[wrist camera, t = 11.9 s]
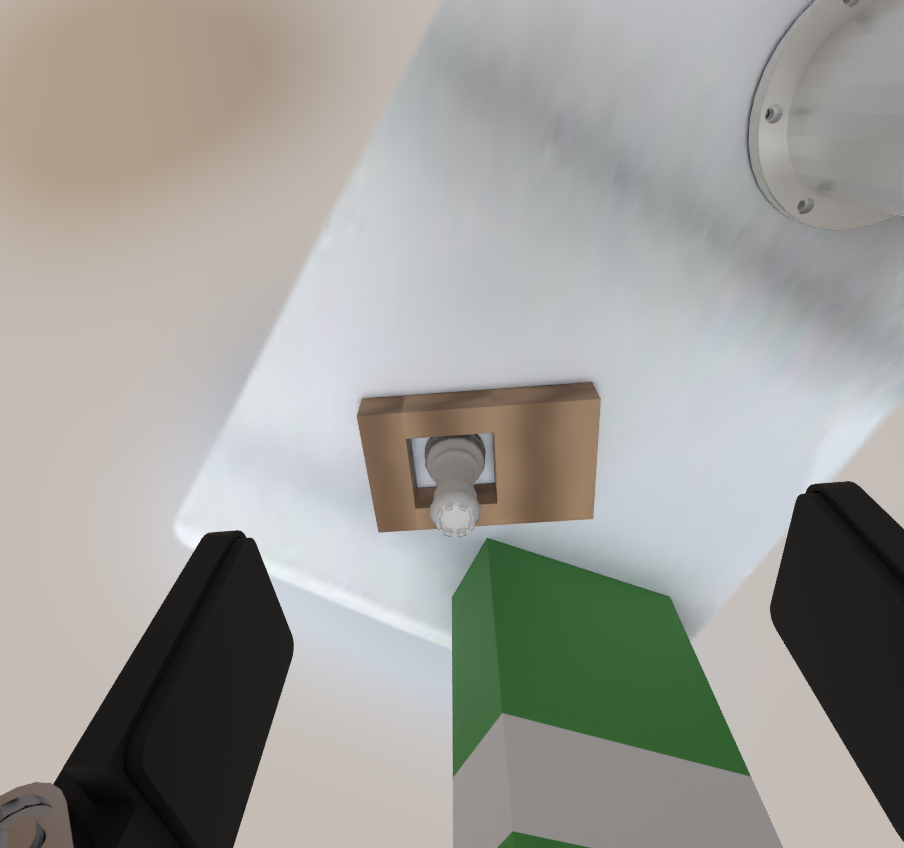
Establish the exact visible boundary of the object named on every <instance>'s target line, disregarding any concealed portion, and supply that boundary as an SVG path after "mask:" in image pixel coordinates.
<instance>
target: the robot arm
mask: <svg viewBox="0 0 904 848" xmlns="http://www.w3.org/2000/svg"><path fill="white" fill-rule="evenodd" d="M768 109H769V111H770V114H769V117H768V118H767V119H766V117H765V115H766V112H767V110H768ZM749 152H750V159H751V165H752V169H753V172H754V175H755V177H756V180H757V183H758V185H759V187H760V189H761V190H762V192H763V193H764V195H765V196H766V198H767V199H768V201H769V202H770V203H771V204H772V205H773V206H774V207H776V208H777V209H778V210H779V211H780V212H781V213H782V214H784V215H786V216H788V217H790V218H792V219H793V220H795V221H797V222H799V223H803V224H806V225H810V226H813V227H816V228H822V229H830V230H845V229H857V228H861V227H865V226H869V225H873V224H877V223H880V222H882V221H885V220H887V219H889V218H891V217H894V216H896V215H899V216H904V0H845V2H844V0H815V1H814V2H813V3H812V4H811V5H810V6H809V7H808V8H807V9H806V10H805V11H804V12H803V13H802V14H801V15H800V16H799V17H798V18H797V20H796V21H795V22H794V24H793V25H792V26H791V28H790V29H789V30H788V32H787V33H786V35H785V36H784V37H783V39H782V40H781V41H780V43H779V44H778V46H777V48H776V50H775V52H774V53H773V55H772V57H771V59H770V61H769V63H768V64H767V66H766V68H765V70H764V73H763V76H762V78H761V81H760V84H759V86H758V89H757V92H756V94H755V98H754V103H753V107H752V112H751V117H750V122H749ZM800 201H801V204H800V206H799V207H798V205H799V202H800ZM770 613H771V618H772V621H773V624H774V626H775V628H776V630H777V632H778V634H779V635H780V637H781V639H782V640H783V641H784V644H785V645H786V647H787V648H788V650H789V652H790V654H791V655H792V657H793V659H794V660H795V662H796V664H797V665H798V667H799V669H800V670H801V672H802V674H803V676H804V677H805V679H806V681H807V682H808V684H809V686H810V687H811V689H812V691H813V692H814V694H815V696H816V697H817V699H818V701H819V702H820V704H821V706H822V707H823V709H824V711H825V712H826V714H827V716H828V718H829V719H830V721H831V723H832V724H833V726H834V728H835V729H836V731H837V733H838V734H839V736H840V738H841V739H842V741H843V743H844V744H845V746H846V748H847V749H848V751H849V753H850V754H851V756H852V758H853V760H854V761H855V763H856V765H857V766H858V768H859V770H860V771H861V773H862V775H863V776H864V778H865V780H866V781H867V783H868V785H869V786H870V788H871V790H872V792H873V793H874V795H875V796H876V798H877V799H878V802H879V803H880V805H881V807H882V808H883V810H884V812H885V813H886V815H887V817H888V818H889V820H890V822H891V823H892V825H893V827H894V828H895V830H896V832H897V833H898V835H899V836H900V838H901V839H902V840H903V841H904V529H903V528H902V527H901V526H900V525H899V524H898V523H897V522H896V521H895V520H894V519H893V518H892V517H891V516H890V515H889V514H887V512H885V511H884V510H883V509H882V508H881V507H880V506H879V505H878V504H877V503H876V502H875V501H874V500H873V499H872V498H871V497H870V496H869V495H868V494H867V493H865V491H864V490H863V489H862V488H861V487H860V486H858V485H857V484H855V483H854V482H850V481H847V482H833V483H821V484H813V485H810V486H809V487H808V488H807V491H806V493H805V494H800V495H799V496H798V497H797V500H796V503H795V507H794V511H793V515H792V519H791V523H790V527H789V531H788V535H787V539H786V543H785V548H784V551H783V556H782V560H781V564H780V568H779V572H778V577H777V580H776V584H775V588H774V592H773V596H772V600H771V605H770ZM293 647H294V643H293V637H292V634H291V631H290V629H289V626H288V624H287V621H286V619H285V616H284V613H283V611H282V608H281V606H280V603H279V601H278V598H277V596H276V593H275V591H274V588H273V585H272V583H271V580H270V578H269V575H268V573H267V570H266V568H265V565H264V563H263V560H262V557H261V555H260V552H259V550H258V547H257V545H256V543H255V541H254V539H252V538H246V536H245V534H244V533H243V532H242V531H238V530H237V531H224V532H212V533H207V534H205V535H204V537H203V538H202V539H201V541H200V542H199V544H198V546H197V547H196V549H195V551H194V552H193V554H192V556H191V557H190V559H189V561H188V562H187V564H186V566H185V568H184V569H183V571H182V572H181V574H180V575H179V577H178V579H177V581H176V582H175V584H174V585H173V587H172V589H171V590H170V592H169V594H168V595H167V597H166V599H165V600H164V602H163V604H162V605H161V607H160V609H159V610H158V612H157V613H156V615H155V617H154V618H153V620H152V622H151V623H150V625H149V627H148V628H147V630H146V632H145V633H144V635H143V636H142V638H141V640H140V641H139V643H138V645H137V646H136V648H135V650H134V651H133V653H132V655H131V656H130V658H129V660H128V661H127V663H126V665H125V666H124V668H123V670H122V671H121V673H120V674H119V676H118V678H117V680H116V681H115V683H114V685H113V686H112V688H111V689H110V691H109V693H108V694H107V696H106V698H105V699H104V701H103V703H102V704H101V706H100V708H99V709H98V711H97V712H96V714H95V716H94V717H93V719H92V721H91V722H90V724H89V726H88V727H87V729H86V731H85V732H84V734H83V736H82V737H81V739H80V741H79V742H78V744H77V746H76V747H75V749H74V751H73V752H72V754H71V755H70V757H69V759H68V760H67V762H66V764H65V765H64V767H63V769H62V771H61V772H60V774H59V776H58V777H57V779H56V781H55V782H54V784H51V783H39V782H35V783H32V784H27V785H24V786H20V787H17V788H15V789H13V790H11V791H9V792H7V793H5V794H3V795H1V796H0V848H233V846H234V843H235V840H236V837H237V833H238V830H239V827H240V824H241V820H242V817H243V814H244V811H245V808H246V804H247V801H248V798H249V794H250V792H251V788H252V785H253V782H254V779H255V776H256V772H257V769H258V766H259V763H260V760H261V756H262V753H263V750H264V747H265V743H266V740H267V737H268V734H269V730H270V727H271V724H272V721H273V718H274V715H275V711H276V708H277V705H278V701H279V699H280V695H281V692H282V689H283V685H284V683H285V679H286V676H287V673H288V670H289V666H290V663H291V660H292V656H293V650H294V648H293Z"/></svg>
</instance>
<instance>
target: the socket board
mask: <svg viewBox="0 0 904 848" xmlns="http://www.w3.org/2000/svg"><path fill="white" fill-rule="evenodd" d="M600 401H601V399H600V397H599V395H598V393H597V391H596V389H595V387H594V385H593V383H592V382H590V383H576V384H562V385H548V386H534V387H520V388H506V389H492V390H478V391H465V392H451V393H437V394H423V395H409V396H395V397H381V398H367V399H362V401H361V404H360V407H359V411H358V414H357V420H358V425H359V430H360V436H361V441H362V446H363V452H364V457H365V462H366V468H367V473H368V478H369V484H370V489H371V494H372V500H373V505H374V510H375V516H376V521H377V526H378V532H392V531H408V530H424V529H437V527H436V525H435V523H433V521H432V519H431V517H430V506H431V504H432V502H433V500H434V492H435V491H436V489H437V487H430V488H417V483H416V476H415V469H414V461H413V454H412V446H411V439H410V438H424V437H439V436H453V435H468V434H482V433H493V451H494V472H495V483H491V484H476V485H474V487H473V488H474V489H475V491H476V494H477V498H476V500H477V501H478V502H479V504H480V507H481V517H480V518H479V520H478V522H477V523H476V524H475V526H488V525H504V524H520V523H536V522H552V521H567V520H583V519H593V512H594V496H595V480H596V464H597V448H598V433H599V417H600Z"/></svg>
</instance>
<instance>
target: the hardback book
mask: <svg viewBox="0 0 904 848" xmlns="http://www.w3.org/2000/svg"><path fill="white" fill-rule="evenodd" d="M452 668H453V670H452V673H453V675H452V679H453V681H452V683H453V684H452V685H453V848H783V847H782V844H781V842H780V840H779V838H778V835H777V833H776V831H775V829H774V827H773V824H772V822H771V820H770V818H769V815H768V813H767V811H766V809H765V807H764V805H763V802H762V800H761V798H760V796H759V794H758V791H757V789H756V787H755V785H754V782H753V780H752V778H751V776H750V774H749V772H748V769H747V767H746V765H745V762H744V760H743V758H742V756H741V754H740V751H739V749H738V747H737V745H736V742H735V740H734V738H733V736H732V734H731V732H730V729H729V727H728V725H727V723H726V720H725V719H724V716H723V714H722V712H721V710H720V707H719V705H718V703H717V700H716V698H715V696H714V694H713V692H712V690H711V687H710V685H709V683H708V681H707V678H706V676H705V674H704V672H703V670H702V667H701V665H700V663H699V661H698V658H697V656H696V654H695V652H694V650H693V648H692V645H691V643H690V641H689V639H688V636H687V634H686V632H685V630H684V627H683V625H682V623H681V621H680V619H679V616H678V614H677V612H676V610H675V608H674V605H673V603H672V601H671V599H670V597H668V596H665V595H662V594H659V593H656V592H653V591H650V590H647V589H644V588H641V587H637V586H634V585H631V584H628V583H625V582H622V581H619V580H616V579H613V578H610V577H606V576H603V575H600V574H597V573H594V572H591V571H588V570H585V569H582V568H579V567H575V566H572V565H569V564H566V563H563V562H560V561H557V560H554V559H551V558H548V557H544V556H541V555H538V554H535V553H532V552H529V551H526V550H523V549H520V548H517V547H513V546H510V545H507V544H504V543H501V542H498V541H495V540H492V539H489V538H487V539H486V541H485V542H484V544H483V546H482V548H481V549H480V551H479V553H478V554H477V556H476V558H475V559H474V561H473V563H472V565H471V566H470V568H469V570H468V571H467V573H466V575H465V577H464V578H463V580H462V582H461V583H460V585H459V587H458V588H457V590H456V592H455V594H454V595H453V597H452Z"/></svg>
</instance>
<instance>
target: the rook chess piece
mask: <svg viewBox="0 0 904 848" xmlns="http://www.w3.org/2000/svg"><path fill="white" fill-rule="evenodd" d="M425 460H426V465H425V466H426V468H427V470H428V472H429V474H430V476H431V478H432V479H434V481H435V482H436V485H437V489H436V491H435V492H434V500H433V502H432V504H431V506H430V517H431V519H432V521H433V523H435V525H436V527H437V529H438V530H439V529H443V530H444V535H446V536H449V537H451V535H452V532H458V537H462V536H465V535H466V530H468V529H469V530H471V531H472V530H473V529H474V527H475V524H476V523H477V522H478V520H479V518H480V517H481V507H480V504H479V502H478V501H477V500H476V498H477V494H476V491H475V489H474V488H473V487H474V483H475V481H476V480H477V479H478V478H479V476H480V475H481V473H482V471H483V469H484V464H485V449H484V446H483V444H482V442H481V441H480V440H479V439H478V438H477V437H476V436H475V435H474V434H468V435H453V436H439V437H433V438H432V439H430V441H429V443H428V445H427V447H426V448H425Z"/></svg>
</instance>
